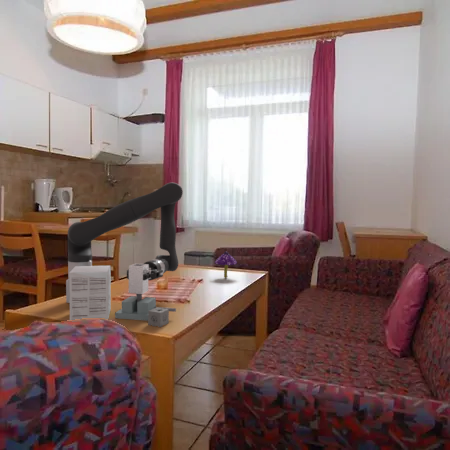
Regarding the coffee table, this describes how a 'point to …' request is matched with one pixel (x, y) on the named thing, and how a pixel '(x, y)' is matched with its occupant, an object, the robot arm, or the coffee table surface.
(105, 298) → the supplement box
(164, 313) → the dice cube
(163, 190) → the robot arm
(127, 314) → the vise
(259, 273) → the coffee table surface
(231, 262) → the decorative mushroom
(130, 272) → the steel sleeve
